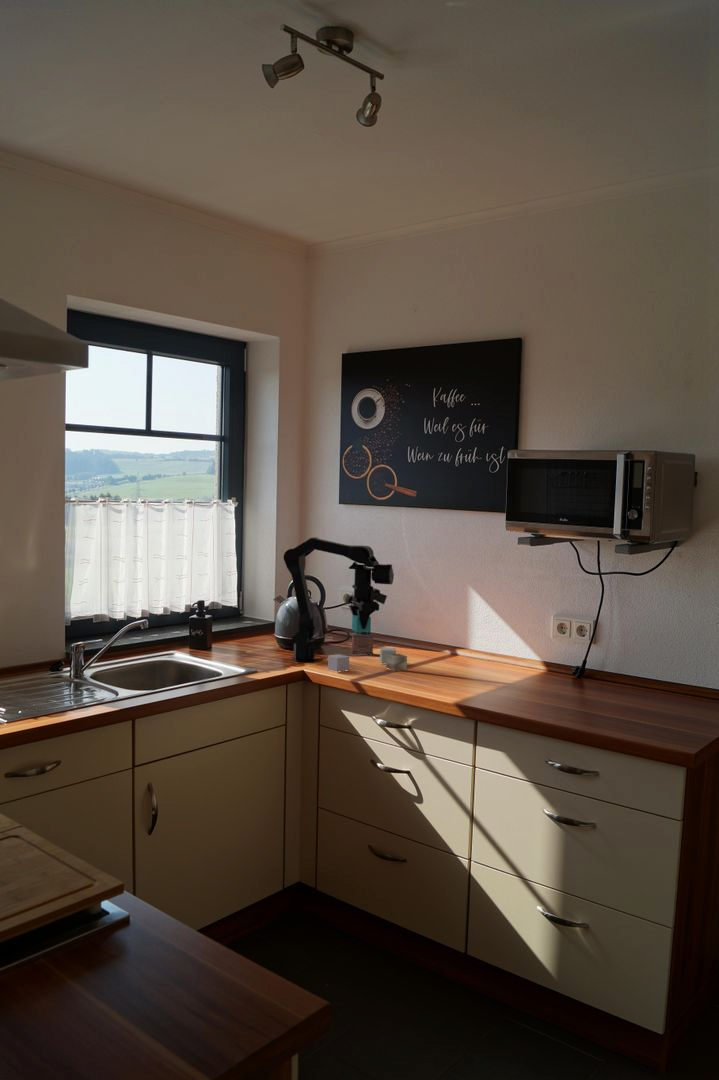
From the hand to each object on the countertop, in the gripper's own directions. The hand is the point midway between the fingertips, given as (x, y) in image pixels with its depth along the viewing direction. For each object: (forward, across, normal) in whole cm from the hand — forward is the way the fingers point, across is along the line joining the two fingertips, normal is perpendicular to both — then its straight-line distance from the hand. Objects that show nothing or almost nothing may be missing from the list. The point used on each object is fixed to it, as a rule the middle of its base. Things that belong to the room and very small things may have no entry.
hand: (361, 627), depth 301 cm
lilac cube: (+13, -7, +10) cm, 18 cm away
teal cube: (+1, 0, 0) cm, 1 cm away
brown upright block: (+13, +18, -7) cm, 23 cm away
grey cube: (+13, +2, -11) cm, 17 cm away
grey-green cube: (+13, -9, -10) cm, 19 cm away
